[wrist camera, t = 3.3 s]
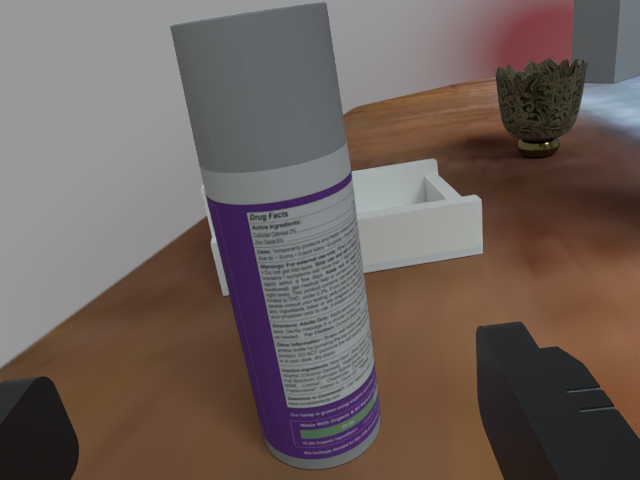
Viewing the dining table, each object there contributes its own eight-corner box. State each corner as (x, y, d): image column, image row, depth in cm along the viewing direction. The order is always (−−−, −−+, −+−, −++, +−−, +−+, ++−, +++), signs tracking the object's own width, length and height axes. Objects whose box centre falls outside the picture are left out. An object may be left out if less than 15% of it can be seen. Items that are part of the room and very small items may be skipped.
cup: (518, 170, 45) (519, 74, 42) (482, 151, 52) (481, 68, 49) (600, 156, 46) (607, 60, 43) (554, 139, 52) (557, 55, 49)
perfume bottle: (641, 74, 77) (655, -66, 69) (613, 83, 74) (625, -62, 67) (597, 74, 82) (606, -56, 75) (570, 82, 79) (576, -53, 72)
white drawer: (435, 201, 41) (431, 118, 39) (482, 253, 32) (480, 149, 29) (234, 234, 41) (216, 152, 38) (223, 296, 32) (198, 194, 29)
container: (255, 402, 22) (165, 28, 16) (358, 372, 23) (308, 6, 17) (275, 487, 18) (165, 24, 12) (400, 446, 19) (353, -4, 13)
